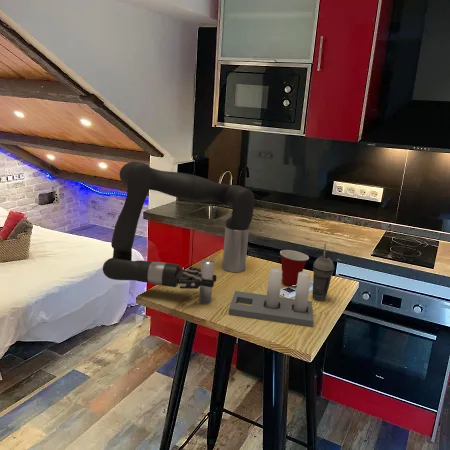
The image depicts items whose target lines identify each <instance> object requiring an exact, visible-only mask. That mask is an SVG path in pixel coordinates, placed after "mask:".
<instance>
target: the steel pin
mask: <svg viewBox="0 0 450 450" xmlns="http://www.w3.org/2000/svg"><path fill="white" fill-rule="evenodd" d="M200 267H201V268H200V269H201V279H208V280H213V275H214V269H215V261H214V260H213V259H210V258H205V259H202V260H201V264H200ZM212 293H213V287H206V286H201V287H199V293H198V302H199V303H200V304H205V305H207V304H210V303H211V302H212Z"/></svg>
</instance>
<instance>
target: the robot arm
mask: <svg viewBox="0 0 450 450" xmlns="http://www.w3.org/2000/svg"><path fill="white" fill-rule="evenodd" d="M119 179H120V181H121V182H122V184H123V185H124V186H126V188H127V190H126V197H125V201H124V203H123V207H122V209H121V212H119V216H118V217H117V220H116V222H115V226H114V229H113V233H112V239H111V245H110V246H111V247H112V249H113V251H112V252H113V253H112V257H111V258H109V259H107V260H105V262H104V263H103V265H102V271H103V274H104V276H105V277H106V278H108V279H111V280H115V281H135V282H140V283H148V284H152V285H155V286H156V285H157V286H162V287H172V288H176V287H178V285H179V289H181V290H182V289H184V290H186V289H187V290H189V289H194V290H195V289H200V287H201V286H206V287H212V288H214V286H215V283H216V282H217V277H218V276H217V275H216V274H213V280H208V279H201V268H197V267H194V266H189V268H188V269H181V266H180V264H178V263H170V262H162V261H161V262H160V261H150V260H133V259H132V256H133V255H132V254H133V246H134V242H135V241H134V240H135V236H136V233H137V227H138V224H139V220H140V216H141V213H142V211H143V207H144V204H145V201H146V199H147V196H148V194H149V191H155V192H160V193H162V194H166V195H168V196H170V197H174V198H177V199H180V200H181V199H182V200H186V201H191V202H197V203H199V202H200V203H202V202H203V203H204V202H213V203H219V204H221V205H224V206H227V207H229V208H231V209H232V212H231V217H228V218H226V221H225V228H224V241H223V243H224V244H223V255H222V264H221V265H222V266H221V267H222V269H223V270H225V271H226V272H231V273H241V272H244V271H245V270H246V263H247V253H248V252H247V251H248V242H249V233H250V232H249V231H250V225H251V223H252V221H253V216H254V209H255V194H254V193H253V191H252V190H251V189H249V188H247V187H243V186H241V185H235V184H225V183H220V182H216V181H213V180H211V179H207V178H204V177H201V176H198V175H194V174H190V173H185V172H179V171H178V172H177V171H167V170H159V169H156V168H153V167H151V166H149V164H147V163H144V162H141V161H129V162H127V163H126V164H124V165H123V166H122V167H121V169H120V171H119Z"/></svg>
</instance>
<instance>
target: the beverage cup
mask: <svg viewBox="0 0 450 450" xmlns="http://www.w3.org/2000/svg"><path fill="white" fill-rule="evenodd" d="M326 248H327V243H324V247H323V255H321V256H319V257H318V258H316V260H315V261H314V262H313V265H312V273H313V278H312V299H313V300H315V301H318V302H324V301H326V298H327V295H328V291H329V288H330V282H331V280H332V276H333V274H334V271H335V266H334V262H333V260H332V259H331V258H330V257H329V256H326Z"/></svg>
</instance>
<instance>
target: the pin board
mask: <svg viewBox="0 0 450 450" xmlns="http://www.w3.org/2000/svg"><path fill="white" fill-rule="evenodd" d="M268 273H269V274H268V282H267V290H266V291H267V292H266V294H261V293H253V292H247V291H239V290H234V293H233V296H232V299H231V302H230V305H229V307H228V315H229V316H235V317H243V318H251V319H256V320H264V321H270V322H277V323H283V324H291V325H297V326H304V327H311V328H313V327H314V313H313V311H314V310H313V301H312V300H311V301H310V300H309V293H310V289H311V288H310V285H311V280H312V274H311V273H310V272H307V271H302V272H299V273H298V280H297V286H296V288H295V296H294V298H289V297H282V296H281V295H280V292H281V285H282V268H277V267H271V268H269V272H268Z"/></svg>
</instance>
